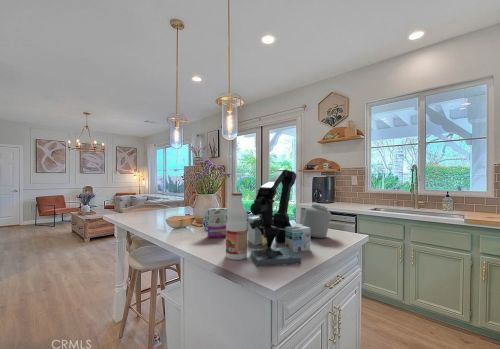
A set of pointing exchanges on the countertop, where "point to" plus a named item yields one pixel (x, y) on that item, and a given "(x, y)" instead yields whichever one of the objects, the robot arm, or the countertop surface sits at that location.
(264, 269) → the countertop surface
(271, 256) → the jig
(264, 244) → the cylinder
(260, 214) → the robot arm
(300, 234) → the light bulb box
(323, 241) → the countertop surface
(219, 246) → the countertop surface
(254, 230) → the small box
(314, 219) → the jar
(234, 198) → the fruit juice
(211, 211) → the candy bar box
